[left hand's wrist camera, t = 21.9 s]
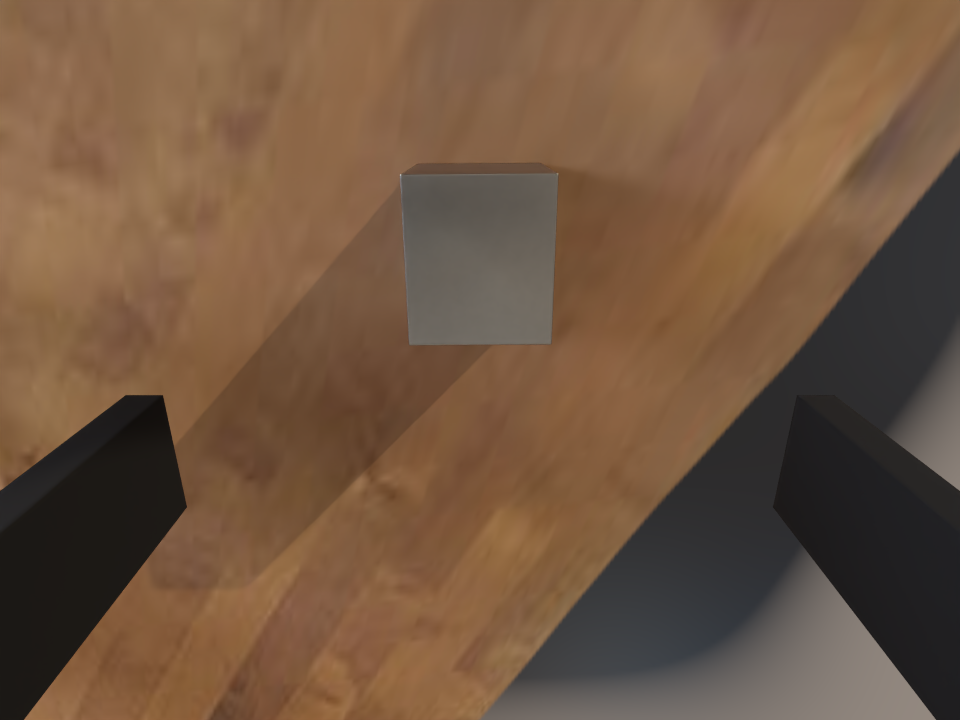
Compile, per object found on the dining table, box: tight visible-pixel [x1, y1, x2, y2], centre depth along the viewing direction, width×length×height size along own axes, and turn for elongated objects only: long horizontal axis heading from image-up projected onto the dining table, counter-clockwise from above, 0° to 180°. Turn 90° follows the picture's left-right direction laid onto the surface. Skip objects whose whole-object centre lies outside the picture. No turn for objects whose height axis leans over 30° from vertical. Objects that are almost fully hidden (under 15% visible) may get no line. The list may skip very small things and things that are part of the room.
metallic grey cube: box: [400, 163, 558, 345], centre depth 33 cm, size 7×8×8 cm
